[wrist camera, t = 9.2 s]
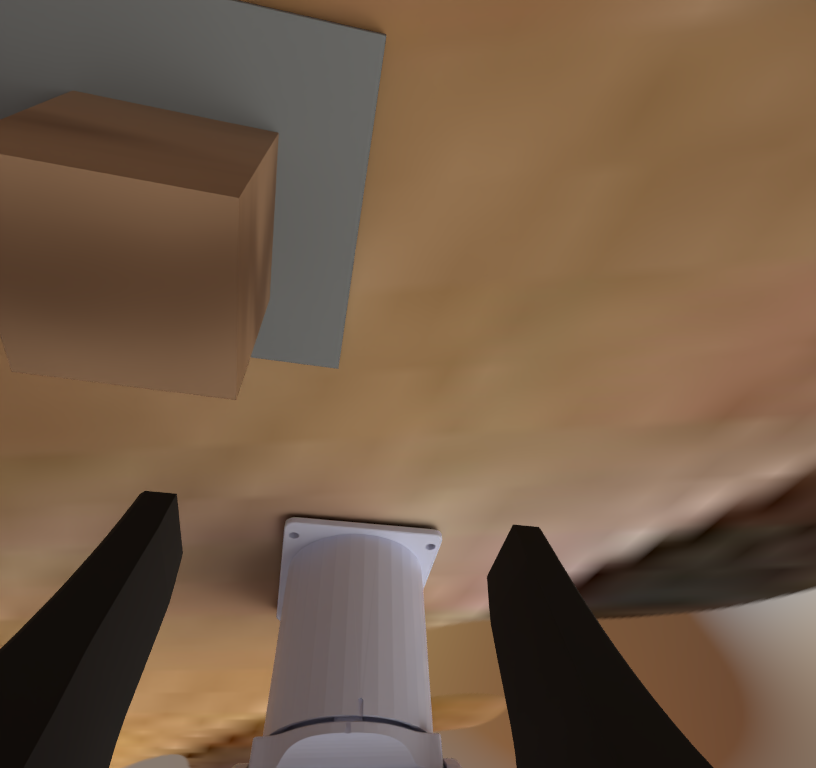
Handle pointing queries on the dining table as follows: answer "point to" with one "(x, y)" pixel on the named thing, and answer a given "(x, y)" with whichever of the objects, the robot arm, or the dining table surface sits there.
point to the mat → (232, 120)
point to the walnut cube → (134, 244)
